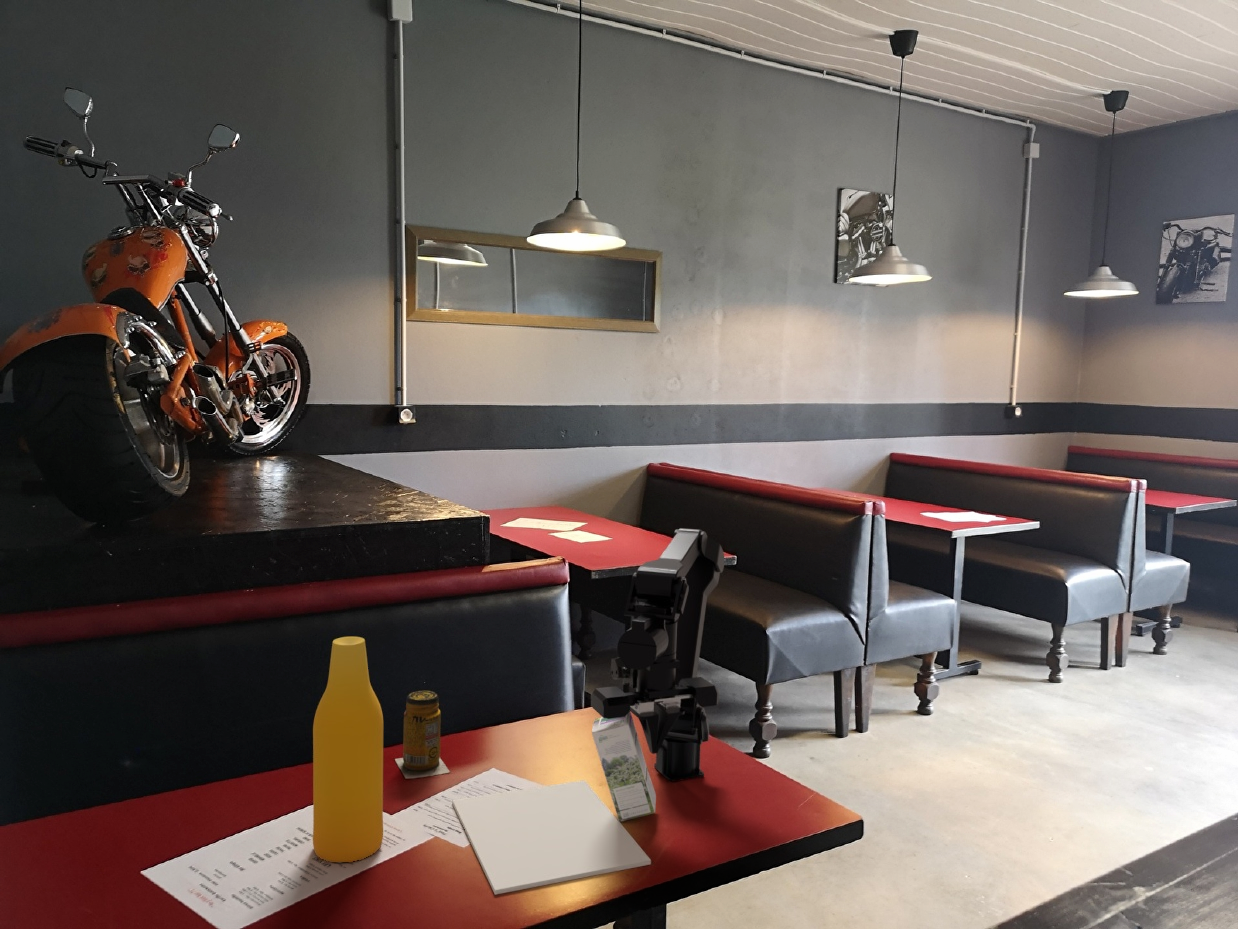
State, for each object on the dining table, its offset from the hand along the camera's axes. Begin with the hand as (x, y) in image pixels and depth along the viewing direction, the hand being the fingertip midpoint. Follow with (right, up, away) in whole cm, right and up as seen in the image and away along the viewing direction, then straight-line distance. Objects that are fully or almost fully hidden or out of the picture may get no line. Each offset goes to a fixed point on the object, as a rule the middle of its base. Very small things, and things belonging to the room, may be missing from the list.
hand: (653, 752), depth 133 cm
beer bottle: (-42, -10, -11) cm, 45 cm away
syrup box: (-2, -9, 0) cm, 9 cm away
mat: (-16, -10, -5) cm, 19 cm away
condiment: (-38, -8, +15) cm, 42 cm away
